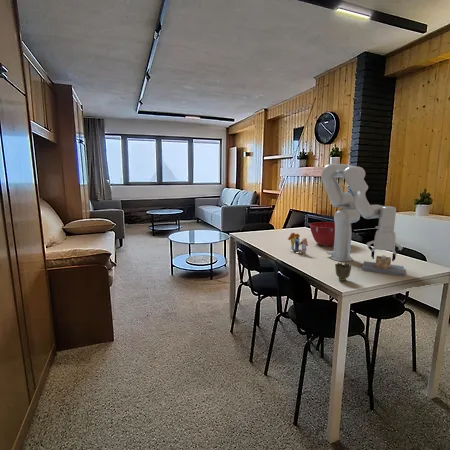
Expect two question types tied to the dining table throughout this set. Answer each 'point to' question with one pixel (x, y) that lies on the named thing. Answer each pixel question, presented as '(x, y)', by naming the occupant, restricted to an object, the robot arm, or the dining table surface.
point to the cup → (342, 271)
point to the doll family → (295, 239)
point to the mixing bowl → (323, 232)
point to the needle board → (393, 269)
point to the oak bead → (383, 262)
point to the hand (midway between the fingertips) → (382, 259)
